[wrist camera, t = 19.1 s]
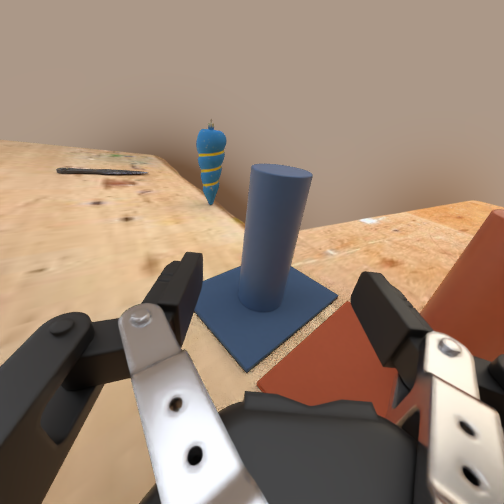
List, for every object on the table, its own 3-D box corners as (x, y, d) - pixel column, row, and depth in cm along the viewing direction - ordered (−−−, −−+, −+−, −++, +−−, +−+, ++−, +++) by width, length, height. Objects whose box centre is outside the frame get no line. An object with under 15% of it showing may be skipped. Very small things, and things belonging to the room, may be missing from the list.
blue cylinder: (229, 292, 22) (238, 163, 15) (260, 277, 24) (279, 163, 18) (259, 320, 19) (285, 178, 13) (291, 299, 22) (324, 175, 16)
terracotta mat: (256, 384, 15) (257, 381, 14) (346, 303, 23) (347, 300, 22) (429, 589, 9) (435, 588, 8) (467, 378, 17) (470, 376, 16)
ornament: (224, 202, 46) (228, 120, 39) (221, 210, 42) (225, 120, 34) (200, 199, 46) (199, 117, 38) (194, 207, 42) (192, 116, 34)
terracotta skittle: (384, 366, 16) (490, 217, 10) (402, 336, 19) (493, 204, 13) (456, 419, 14) (655, 260, 8) (464, 375, 16) (616, 233, 10)
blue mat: (179, 294, 21) (178, 290, 21) (270, 256, 29) (270, 253, 29) (246, 373, 15) (247, 369, 15) (337, 298, 23) (338, 295, 23)
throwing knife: (60, 169, 53) (59, 167, 53) (149, 172, 61) (149, 170, 61) (54, 173, 50) (53, 170, 50) (149, 176, 58) (149, 173, 57)
